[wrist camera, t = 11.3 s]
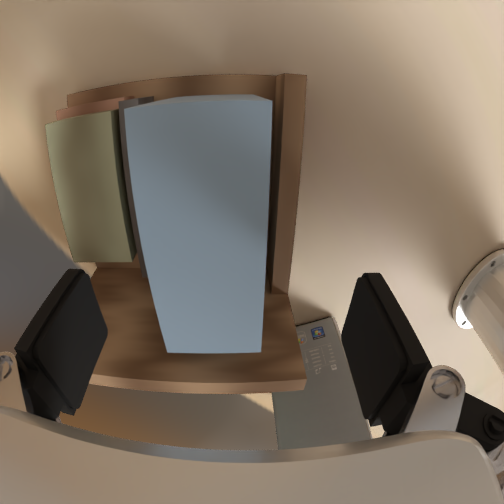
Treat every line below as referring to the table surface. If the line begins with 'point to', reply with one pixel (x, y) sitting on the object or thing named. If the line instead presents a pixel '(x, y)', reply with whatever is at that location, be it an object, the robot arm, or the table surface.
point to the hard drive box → (320, 395)
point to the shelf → (129, 244)
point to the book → (203, 216)
